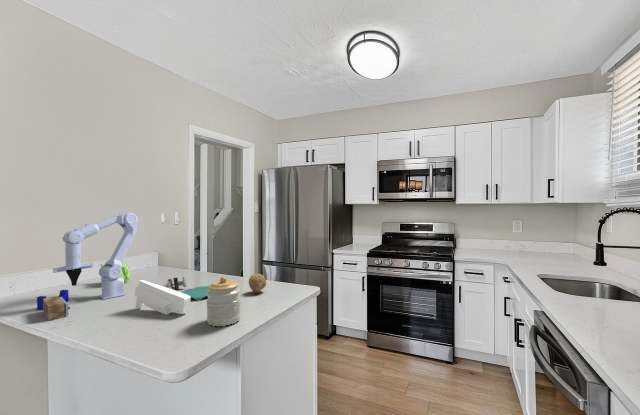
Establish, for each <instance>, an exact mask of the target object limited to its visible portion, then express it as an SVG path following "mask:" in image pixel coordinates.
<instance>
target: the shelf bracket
mask: <svg viewBox="0 0 640 415" xmlns="http://www.w3.org/2000/svg"><path fill="white" fill-rule="evenodd" d="M181 292H182V291H179V290H175V289H173V290H172V289H169V288H166V287H163V285H160V284H156V283H153V282H150V281H147V280H144V279H141V280H139V281H138V286H136V287H135V292H134V297H136V300H135V301H136V302H135V308H134V310H138V309H141V308H142V307H144V306H146V307H148V308H150V309H152V310H154V311H156V312H158V313H160V314H163V315H169V314H172V313H173V312H174V313H178V314H180V315H183V314H185V313H187V312H189V311H190V306H191V300H192V299H191V297H190V296H189V295H186V294H183V293H181Z"/></svg>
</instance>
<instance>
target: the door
mask: <svg viewBox="0 0 640 415" xmlns="http://www.w3.org/2000/svg"><path fill="white" fill-rule="evenodd" d="M59 298H60V299H61V300H62V301H63V302H64V313H65V316H69V310H71V306H69V303H68V302H66V301H65V300H64V299H63V298H62V297H59Z"/></svg>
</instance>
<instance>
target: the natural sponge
mask: <svg viewBox="0 0 640 415" xmlns="http://www.w3.org/2000/svg"><path fill="white" fill-rule="evenodd" d="M248 285H249V288H250V290H251V291H252V292H253V293H255V294H259V293H260V292H261V291H262V290H263V289H265V287H266V286H267V280H266V278H265V276H264V275H262V274H261V273H254V274H252V275H251V276H250V277H249V278H248Z"/></svg>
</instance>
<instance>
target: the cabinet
mask: <svg viewBox="0 0 640 415" xmlns="http://www.w3.org/2000/svg"><path fill="white" fill-rule="evenodd" d="M58 296H59V295H55V296H51V297H46V298H44V299H43V310H42V311H43V314H44V316H45V317H46V319H47V321H48V322H51V321H55V320H59V319H63V318H65V316H66V315H65V313H64V302H63V301H62V300H61V299H60V298H59V297H58Z"/></svg>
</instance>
